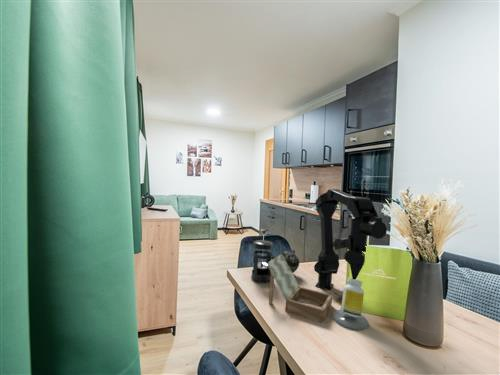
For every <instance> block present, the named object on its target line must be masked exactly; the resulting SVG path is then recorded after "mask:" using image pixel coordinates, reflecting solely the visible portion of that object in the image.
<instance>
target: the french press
mask: <svg viewBox="0 0 500 375" xmlns="http://www.w3.org/2000/svg"><path fill="white" fill-rule="evenodd" d="M259 231H261V232H262V234H263V237H262V239H261V240H259V239H258V240H257V239H256V240H253V244H254V248H255V249H256V250H254V251H253V252H252V257H253V264H252V266H253V267H252V270H251V276H250V279H251V281H253V282H255V283H261V284H266V283H270V277H271V271H270V269H269V267H268V265H267V263H268V262H269V261H271V260H273V259H274V258H276V256H273V252H271V251H269V250H272V249H273V245H274V242H273V241H269V240H265V234H266V232H269V229H267V228H261V229H260V228H259ZM257 249H258V250H257ZM264 254H265V255H264ZM259 259H261V261H259ZM264 260H266V262H265V261H264ZM263 261H264V262H263Z"/></svg>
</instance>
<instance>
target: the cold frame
mask: <svg viewBox="0 0 500 375" xmlns="http://www.w3.org/2000/svg"><path fill="white" fill-rule="evenodd" d="M267 265H268V267H269V269H270V271H271V277H270V282H269V283H270V284H269V296H268V297H269V298H268V304H269V305H272V304H273V300H274V288H275V287H274V286H275V285H274V284H275V283H276V285H277V287H278V289H279V291H280V292H281V294H282V296H283V299H284V300H285V307H284V308H285V309H284V311H285V312H287V313H290V314H293V315H296V316H300V317H303V318H306V319H310V320H312V321H315V322H318V323H322V324H323V323H324V321H325V320H326V317H327V315H328V313H329V311H330V309H331V307H332V304H333V295H332V294H329V293H326V292H321V291H318V290H314V289H310V288H306V287H302V286H300V285H299V283H298V281H297V279H296V276H295V277H294V275H293V274H294V273H292V271H291V269H290V268H289V266H288V264H287V262H286V260H285V258H284V256H283V254H282V253H280V254H279V255H278V256H275V258H274V259H273V260H272V259H271V261H269V262H268V263H267ZM299 299H303V300H305V301H310V302H313V303H316V304H321V305H322V306H321V308H320V307H316V306H313V305H309V304H306V303H302V302H299V301H298V300H299Z"/></svg>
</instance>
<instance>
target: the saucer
mask: <svg viewBox="0 0 500 375" xmlns="http://www.w3.org/2000/svg"><path fill="white" fill-rule="evenodd" d="M332 318H333V320H334V322H335V323H336V324H338V325H339V326H340V327H343V328H346V329H348V330H353V331H363V330H366V329H367V328H368V327H369V321H368V319H367V318H366V316H364V315H362V314H361V317H360V318H357V317H352V316H349V315H346V314H344V313H342V312H341V309H338V310H335V311H334V312H333V313H332Z"/></svg>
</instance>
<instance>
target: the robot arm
mask: <svg viewBox="0 0 500 375" xmlns="http://www.w3.org/2000/svg"><path fill="white" fill-rule="evenodd" d="M314 203H315V204H314V206H315V207H316V208H315V209H316V212H317V214H318V216H319V217H320V233H321V234H320V235H321V239H320V240H321V251H320V253H319V255H318V257H317V258H318V260H317V261H316V263H315V264H314V266H313V269H314V270H313V271H315V272H316V274H318V278H317V283H316V284H315V287H317V288H321V289H324V290H328V291H331V290H332V289H333V287H334V283H332V282H333V281H332V279H333V275H335V274H336V275H337V274H338V272H339V267H340V260H339V257H340V256H339V254H337V253H336V251H338V250H340V249H346V248H347V250H346V251H345V252H344V258H343V259H344V260H345V262H346V263H348V264H349V267H350V273H351V277H352V278H351V279H356V280H357V278H358V276H359V275H360V272H361V271H362V269H363V266H364V265H365V262H366V259H365V254H364V253H363V252H366V247H365V246H367V245H368V238H369V237H372V238H374V239H377V240H378V239H379V240H380V239H383V238H384V237H385V236H386V234H387V232H388V228H387V226H386V224H385V222H383V218H382V217H381V216H380V217H379V215H378V212H377V211H376V210H377V209H375V206H374V203H373V201H372V199H371V198H370V197H362V196H354V195H352V194H350V193H346V192H344V191H342V190H340V189H335V188H332V189H331V188H330V189H328V190H327V191H326V192H324V193H322V194H320V195H319V196H318V197H317V198H316V200H315V202H314ZM339 203H340V204H342V205H344V206H346V209H347V210H348V211H349V212H350V214H349V215H348V216H347V217H348V218H349V219H350V230H349V232H350V233H349V235H348V236H347V237H342V238H341V237H339V238H337V237H336V238H335V239H334V236H333V234H334V230H333V216H334V214H335V212H336V208H337V206H338V205H339ZM362 251H363V252H362Z"/></svg>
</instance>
